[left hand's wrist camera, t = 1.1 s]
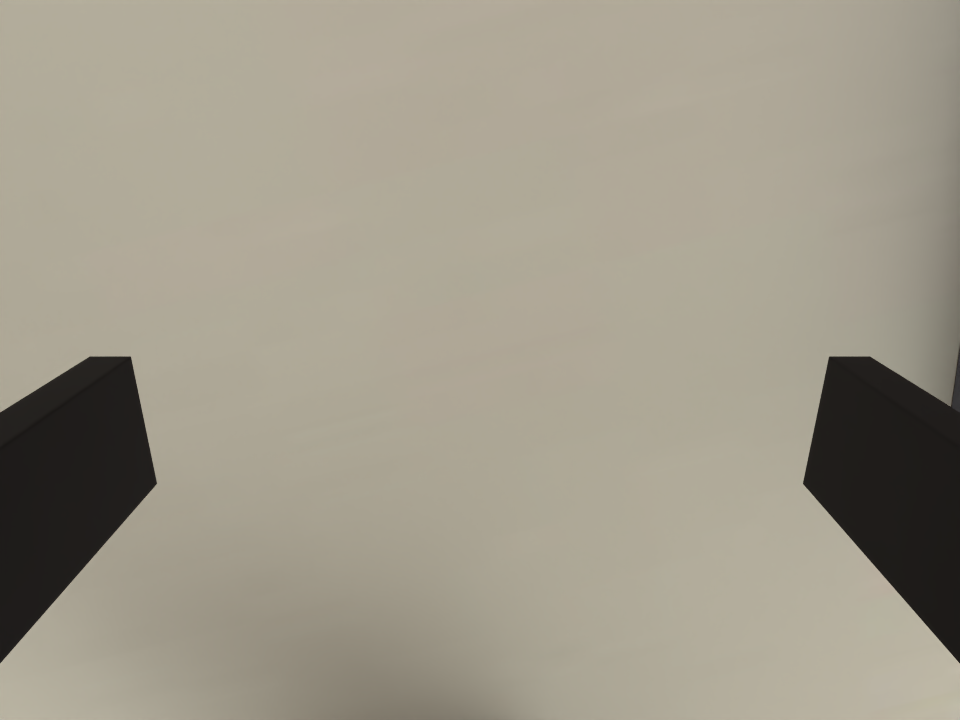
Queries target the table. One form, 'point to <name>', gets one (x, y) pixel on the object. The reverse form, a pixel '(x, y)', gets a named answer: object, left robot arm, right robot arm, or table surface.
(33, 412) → the left robot arm
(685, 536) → the table surface
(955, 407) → the beam
